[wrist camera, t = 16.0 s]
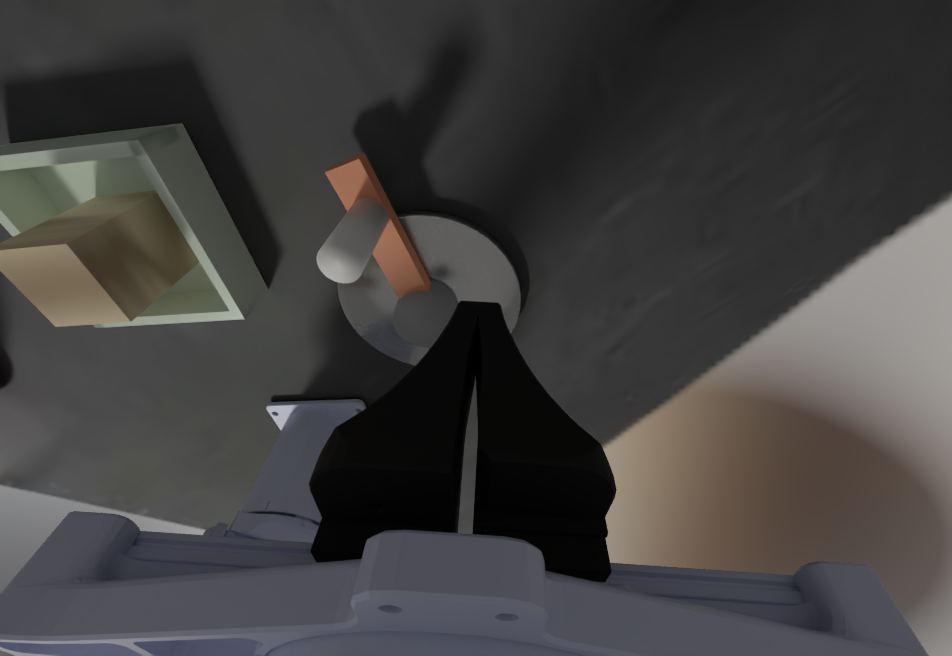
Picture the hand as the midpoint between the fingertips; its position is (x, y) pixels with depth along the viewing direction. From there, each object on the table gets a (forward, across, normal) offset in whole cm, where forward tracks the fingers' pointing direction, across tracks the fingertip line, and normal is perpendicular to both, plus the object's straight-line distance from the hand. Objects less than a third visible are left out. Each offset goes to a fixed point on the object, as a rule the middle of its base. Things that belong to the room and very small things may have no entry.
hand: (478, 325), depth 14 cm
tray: (+10, +19, +2) cm, 21 cm away
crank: (+9, +5, +2) cm, 10 cm away
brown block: (+9, +18, +2) cm, 21 cm away
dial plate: (+10, +3, +6) cm, 12 cm away
